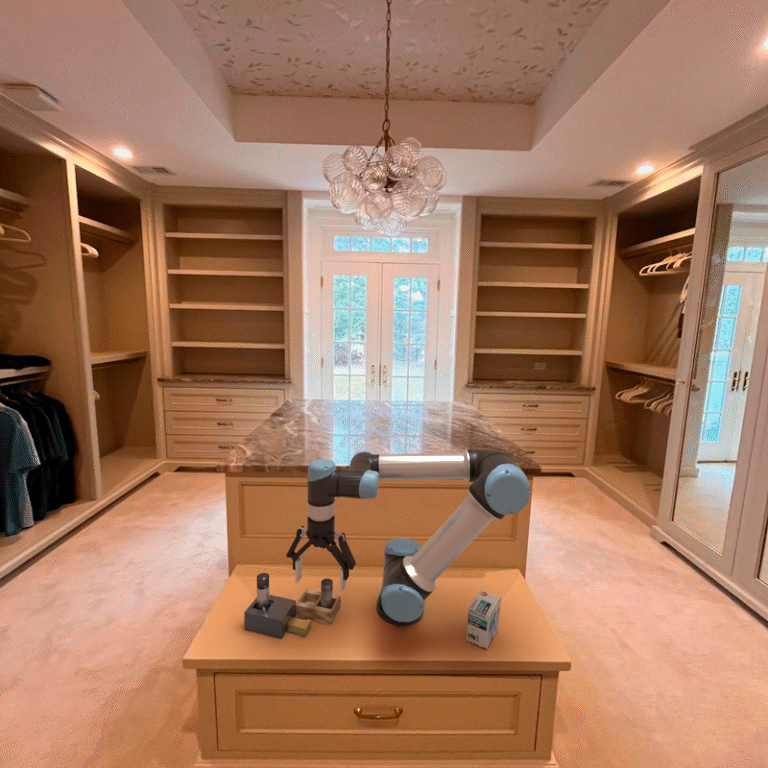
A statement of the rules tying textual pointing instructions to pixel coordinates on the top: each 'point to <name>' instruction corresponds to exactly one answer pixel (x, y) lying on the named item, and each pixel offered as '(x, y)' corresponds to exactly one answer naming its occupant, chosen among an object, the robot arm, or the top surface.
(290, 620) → the yellow rectangular block
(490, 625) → the light bulb box
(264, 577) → the grey peg
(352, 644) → the top surface
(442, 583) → the top surface
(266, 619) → the socket block
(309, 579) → the top surface
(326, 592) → the rack
